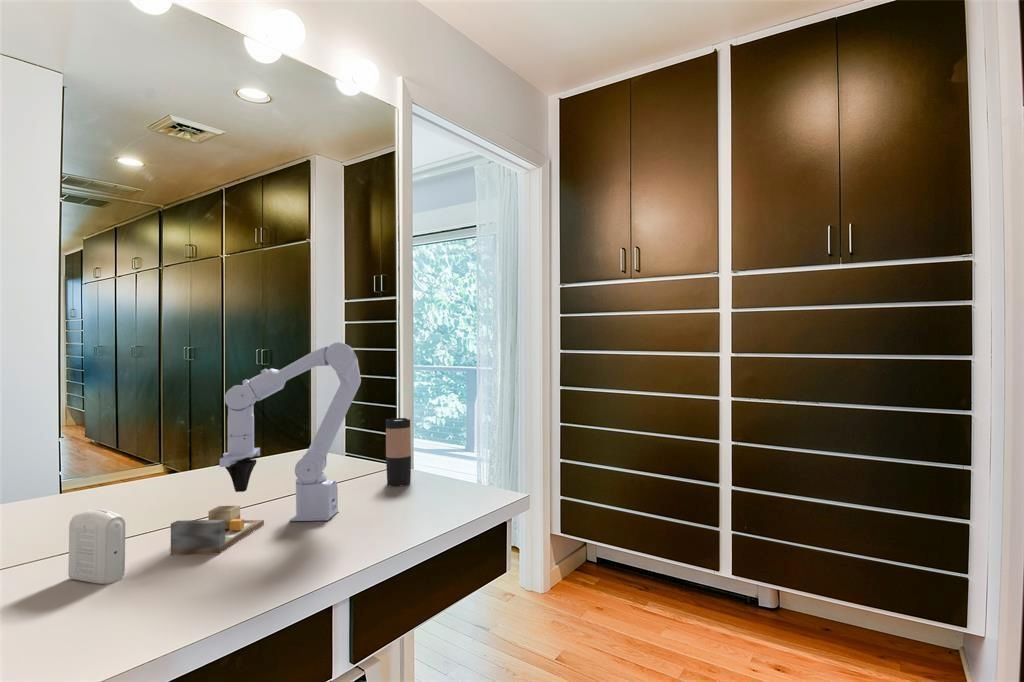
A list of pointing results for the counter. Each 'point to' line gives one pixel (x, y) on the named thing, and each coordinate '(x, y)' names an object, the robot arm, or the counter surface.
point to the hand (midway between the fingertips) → (240, 491)
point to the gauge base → (207, 535)
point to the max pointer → (237, 524)
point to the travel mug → (398, 451)
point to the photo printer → (97, 546)
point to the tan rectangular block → (224, 514)
